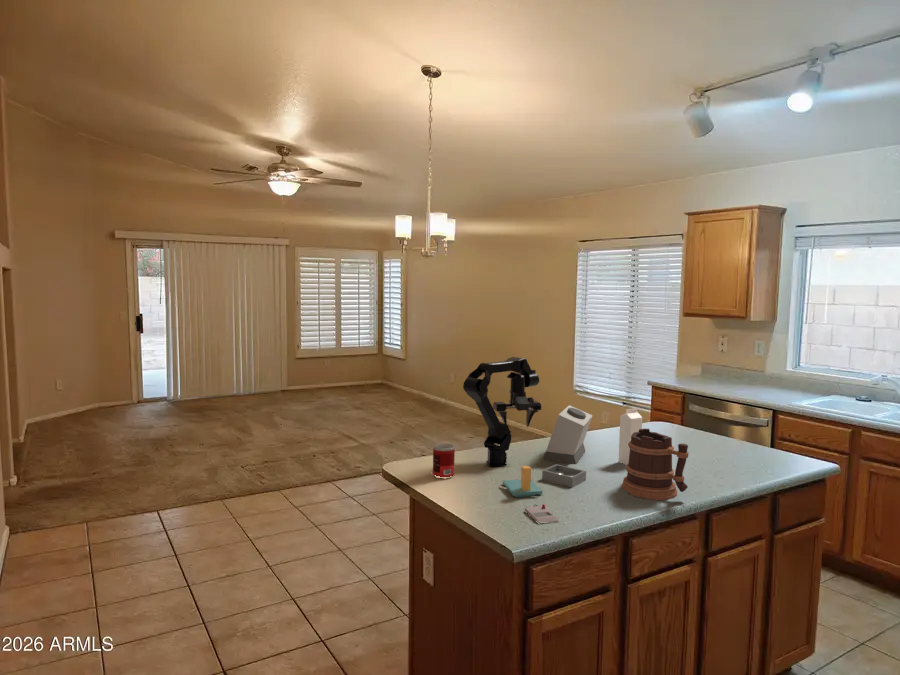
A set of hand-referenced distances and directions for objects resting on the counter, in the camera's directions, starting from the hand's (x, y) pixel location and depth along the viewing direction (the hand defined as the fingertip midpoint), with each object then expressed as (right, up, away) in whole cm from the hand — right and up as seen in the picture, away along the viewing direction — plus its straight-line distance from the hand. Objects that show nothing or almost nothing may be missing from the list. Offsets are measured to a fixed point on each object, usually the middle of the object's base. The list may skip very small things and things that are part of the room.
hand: (516, 427), depth 231 cm
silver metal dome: (+16, -15, -27) cm, 35 cm away
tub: (+14, -16, -26) cm, 33 cm away
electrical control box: (0, -19, -56) cm, 59 cm away
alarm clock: (+22, -13, +6) cm, 26 cm away
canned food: (-29, -15, -21) cm, 39 cm away
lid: (-2, -16, -36) cm, 40 cm away
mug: (+43, -17, -34) cm, 58 cm away
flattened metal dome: (+12, -15, -24) cm, 31 cm away
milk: (+45, -14, -2) cm, 47 cm away
